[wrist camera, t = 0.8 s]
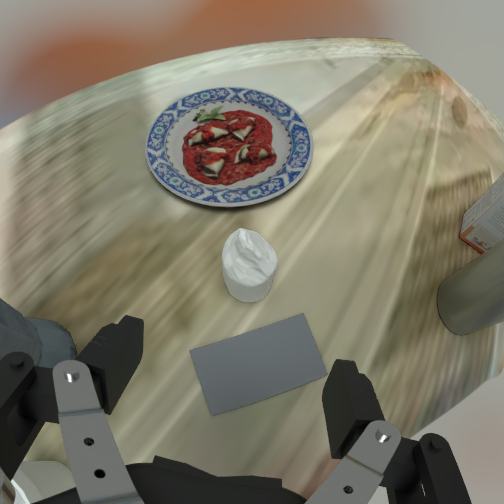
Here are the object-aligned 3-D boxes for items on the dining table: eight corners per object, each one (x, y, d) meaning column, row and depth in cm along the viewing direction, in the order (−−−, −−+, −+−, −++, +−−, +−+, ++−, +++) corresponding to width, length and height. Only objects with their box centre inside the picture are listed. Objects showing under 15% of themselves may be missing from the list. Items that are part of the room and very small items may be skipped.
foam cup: (59, 438, 29) (-4, 448, 17) (104, 497, 26) (55, 531, 14) (20, 466, 26) (-41, 477, 14) (61, 521, 23) (9, 551, 11)
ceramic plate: (335, 196, 45) (341, 184, 42) (156, 232, 41) (151, 221, 38) (281, 89, 55) (282, 77, 52) (144, 110, 51) (141, 98, 48)
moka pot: (78, 417, 30) (-36, 423, 12) (-1, 354, 32) (-105, 317, 14) (106, 352, 34) (3, 311, 16) (25, 297, 36) (-71, 233, 17)
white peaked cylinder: (298, 239, 28) (253, 281, 26) (280, 282, 39) (247, 314, 37) (251, 197, 30) (205, 234, 28) (245, 250, 41) (212, 279, 39)
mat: (302, 313, 38) (303, 312, 37) (326, 374, 35) (327, 374, 34) (189, 350, 35) (189, 350, 35) (212, 416, 32) (211, 416, 32)
